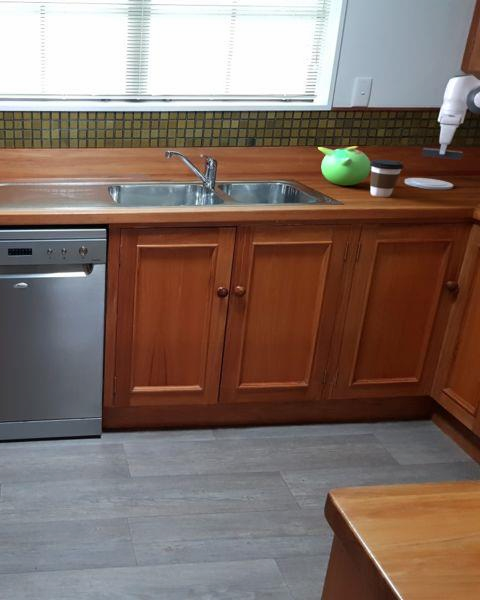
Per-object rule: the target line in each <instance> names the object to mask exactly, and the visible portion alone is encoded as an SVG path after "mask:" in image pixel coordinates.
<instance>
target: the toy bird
mask: <svg viewBox="0 0 480 600" xmlns="http://www.w3.org/2000/svg"><path fill="white" fill-rule="evenodd" d="M358 147H359V146H358V145H354V146H348V147H340V148H337V149H331V148H327V147H322V146H319V147H317V149H318V150H319V151H320V152H321V153H322V154H324V155H325V156H324V158H323V159H322V161H321V166H320V168H321V173H322V176H323V177H324V178H325V179H326V180H327V181H328V182H330V183H332V184H335V185H337V186H343V187H347V186H348V187H349V186H354V185H357V184H360V183H362V182H364V181H365V180H366V179H367V177H369V175H370V174H371V170H372V166H371V165H370V163H371V161H370V159H369V157H368V156H367V155H366V154H365V153H364V152H362V151H361V150H359V149H357V148H358Z"/></svg>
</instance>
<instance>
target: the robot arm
mask: <svg viewBox="0 0 480 600" xmlns="http://www.w3.org/2000/svg"><path fill="white" fill-rule="evenodd" d="M445 87H446V88H445V91H444V94H443V101H442V105H441V106H440V110H439V114H438V118H437V122H438V123H440V124H439V126H440V133H439V141H438V142H439V145H440V148H439V149H440V154H445V150H447V147H448V145H450V144H451V143H452V140H453V137H454V135H455V133H456V130H457V128H459V125H461V124H463V123H464V121H465V117H466V113H467V110H469V111H470V112H471V113H473V114H475V115H480V79H478V78H477V77H475V76H474V74H471V73H464V74H458V75H454V76H453V77H451V78H450V79H449V80H448V83H447V85H446V86H445Z"/></svg>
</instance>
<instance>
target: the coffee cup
mask: <svg viewBox="0 0 480 600" xmlns="http://www.w3.org/2000/svg"><path fill="white" fill-rule="evenodd" d="M370 165H371V169H370V181H369V182H370V184H369V185H370V195H371V196H374V197H378V198H389V197H390V196H391V195H392V193H393V190H394V189H395V187H396V184H397V181H398V179H399V177H400V174H401V171H402V170H403V169H405V168H404V167H405V166H404V163H403V162H402V161H398V160H392V159H381V158H379V159H373V160H371V162H370Z"/></svg>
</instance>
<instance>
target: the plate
mask: <svg viewBox="0 0 480 600" xmlns="http://www.w3.org/2000/svg"><path fill="white" fill-rule="evenodd" d="M404 184H406V185H408V186H410V187H415V188H420V189H425V190H426V189H427V190H435V191H436V190H437V191H438V190H439V191H445V190H446V191H448V190H452V189H453V188H454V184H453V183H451V182H448V181H446V180H440V179H434V178H427V177H426V178H424V177H408V178H405V179H404Z"/></svg>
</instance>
